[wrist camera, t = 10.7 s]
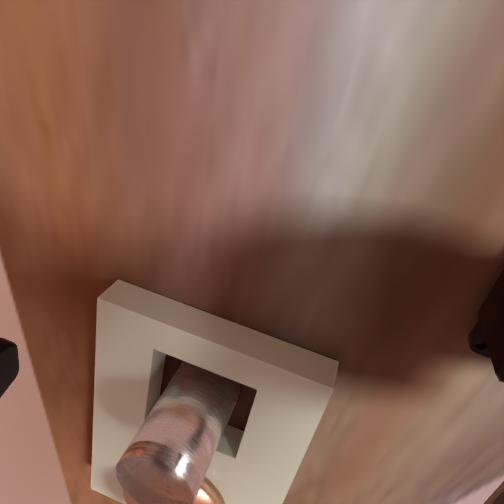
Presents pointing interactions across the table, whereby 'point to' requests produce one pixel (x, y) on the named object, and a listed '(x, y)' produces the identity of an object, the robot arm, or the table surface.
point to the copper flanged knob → (206, 500)
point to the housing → (217, 361)
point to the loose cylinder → (178, 438)
